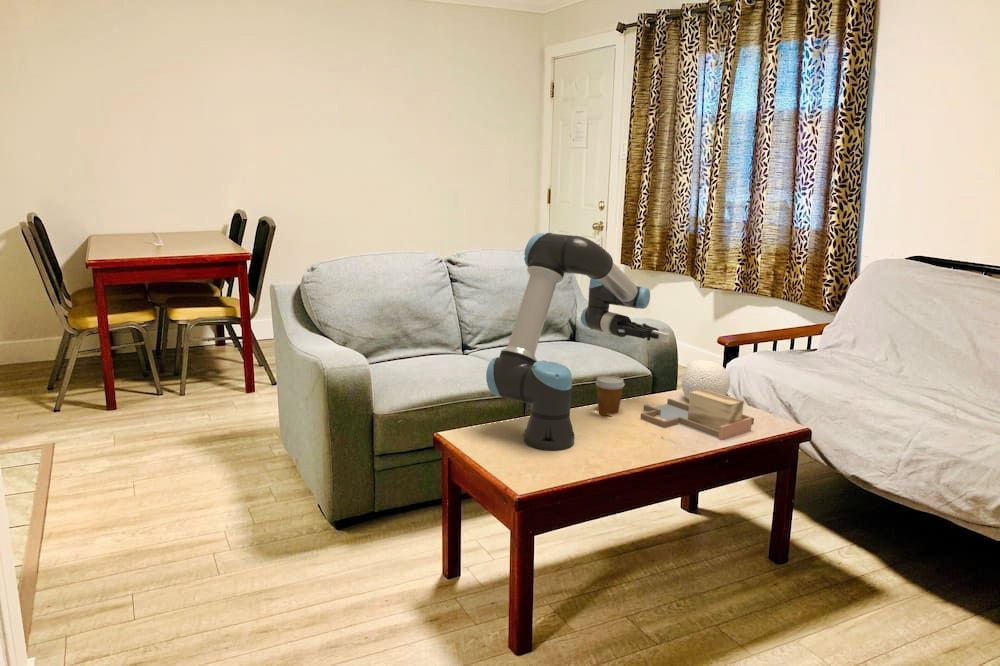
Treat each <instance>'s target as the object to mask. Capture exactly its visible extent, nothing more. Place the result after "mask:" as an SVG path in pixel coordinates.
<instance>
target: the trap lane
mask: <svg viewBox="0 0 1000 666" xmlns="http://www.w3.org/2000/svg"><path fill="white" fill-rule="evenodd" d="M688 410H689V404H687V403H684V402H681V401H678V400H675V399H673V398H667V402H666V404H661V405H657V406H651V405H649V404H644V405H643V409H642V410H641V412H642V413H640V417H639V418H640V420H642V421H643V422H644V421H645V422H647V423H650V424H653V425H655V426H658V427H661V428H664V429H667V428H669V427H673V426H676V425H679V426H682V427H684V428H686V429H687V428H688V429H690V430H692V431H695V432H697V433H701V434H703V435H706V436H709V437H711V438H715V439H716V440H720V441H723V440H726V439H730V438H732V437H735V436H737V435H741V434H744V433H748V432H751V430H752V425H753V424H754V423H755V422H754V421H755V418H754V417H752V416H748V415H746V414H743V413H742V420H739V421H736V422H733V423H729V424H726V425H723V426H720V427H719V430H716V429H713V428H710V427H707V426H705V425H702V424H699V423H696V422H693V421H691V420H688ZM660 418H661V419H660Z"/></svg>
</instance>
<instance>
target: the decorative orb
mask: <svg viewBox="0 0 1000 666" xmlns="http://www.w3.org/2000/svg"><path fill="white" fill-rule="evenodd" d="M730 386H731V378H730V374H729V373H728V371H727V369H726V368H725V367H724V366H722V364H720V363H718V362H715V361H713V360H706V359H694V360H693V359H692V361H690V362H688V364H687V365H686V368H685V370H684V372H683V375H682V378H681V388H682V389H681V390H682V392H683V395H684V396H685V398H686V399H688V400H689V399H690V392H693V391H697V390H701V389H706V390H709V391H713V392H716V393H719V394H722V395H726V396H727V394H728V392H729V390H730Z"/></svg>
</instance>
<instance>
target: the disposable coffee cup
mask: <svg viewBox="0 0 1000 666" xmlns="http://www.w3.org/2000/svg"><path fill="white" fill-rule="evenodd" d="M595 385H596V393H597V394H596V396H597V407H598V408H597V409H598V414H599V416H602V417H605V418H613V417H614V416H612V415H614V414H618V413H619V410H620V406H621V399H622V396H623V395H622V394H623V389H624V386H625V385H626V383H625V382H624V378H621V377H619V376H613V375H601V376H597V378H596V381H595Z"/></svg>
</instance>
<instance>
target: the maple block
mask: <svg viewBox="0 0 1000 666" xmlns="http://www.w3.org/2000/svg"><path fill="white" fill-rule="evenodd" d="M744 403H745V400H741V399H739V398H735V397H731V396H728V395H727V394H726V395H722V394H719V393H716V392H713V391H709V390H706V389H701V390H697V391H693V392H690V399H688V405H689V410H688V420H691V421H693V422H696V423H699V424H702V425H705V426H707V427H710V428H713V429H716V430H719V427H720V426H723V425H726V424H729V423H733V422H736V421H739V420H742V414H743V411H744Z"/></svg>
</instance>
